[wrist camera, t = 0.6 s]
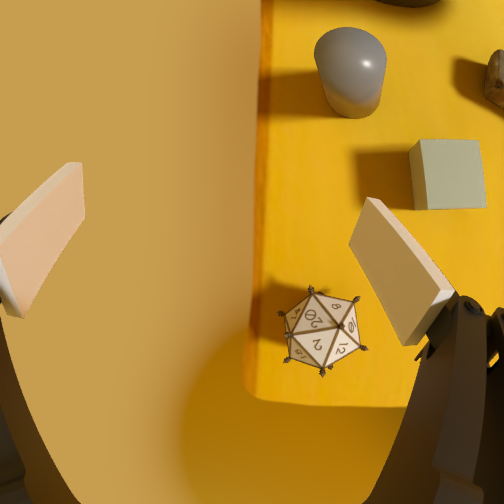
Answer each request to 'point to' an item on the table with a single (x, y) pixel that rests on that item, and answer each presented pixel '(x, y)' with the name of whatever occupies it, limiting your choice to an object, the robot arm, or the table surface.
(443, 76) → the table surface
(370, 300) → the table surface
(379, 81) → the gray cylinder
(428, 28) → the table surface
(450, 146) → the olive block
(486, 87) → the stone block
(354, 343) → the game die
